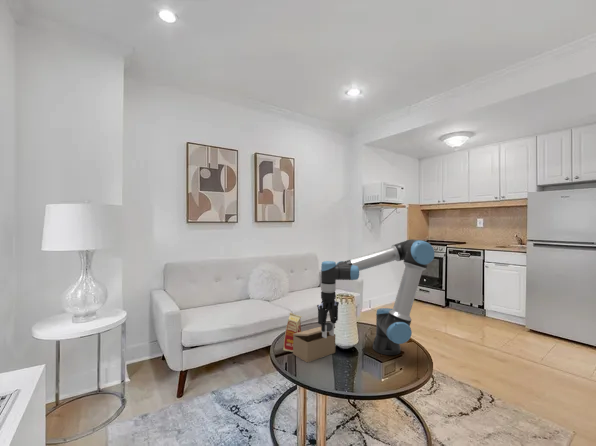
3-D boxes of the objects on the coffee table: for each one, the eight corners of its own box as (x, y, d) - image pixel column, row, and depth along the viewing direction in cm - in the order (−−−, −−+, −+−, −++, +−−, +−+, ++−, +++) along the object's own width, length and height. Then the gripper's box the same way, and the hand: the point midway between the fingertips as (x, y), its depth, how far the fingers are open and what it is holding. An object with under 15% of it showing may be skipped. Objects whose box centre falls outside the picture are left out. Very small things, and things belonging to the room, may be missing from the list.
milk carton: (283, 350, 163) (283, 314, 163) (288, 343, 171) (289, 309, 171) (298, 352, 160) (299, 316, 160) (303, 346, 168) (304, 311, 168)
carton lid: (345, 327, 155) (343, 318, 156) (317, 336, 143) (315, 326, 144) (320, 327, 170) (319, 319, 171) (293, 335, 158) (292, 326, 159)
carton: (335, 352, 160) (335, 334, 161) (307, 362, 148) (307, 343, 148) (320, 345, 170) (320, 328, 170) (293, 354, 158) (293, 335, 158)
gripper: (335, 287, 159) (334, 330, 159) (310, 292, 149) (310, 337, 149) (345, 290, 154) (344, 334, 153) (320, 294, 143) (320, 342, 143)
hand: (328, 336), depth 151 cm, fingers closed on carton lid, 4 cm apart
